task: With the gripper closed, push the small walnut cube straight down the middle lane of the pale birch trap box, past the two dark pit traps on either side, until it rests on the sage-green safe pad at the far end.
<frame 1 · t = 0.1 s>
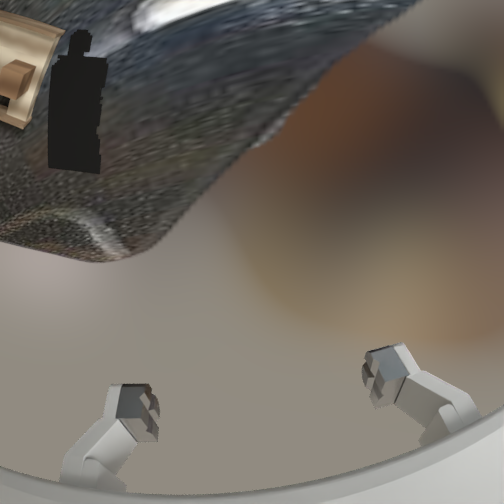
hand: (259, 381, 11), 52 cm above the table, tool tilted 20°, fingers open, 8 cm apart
block: (21, 74, 37), point 2 cm above the table, touching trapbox
black flat board: (77, 104, 48), on the table
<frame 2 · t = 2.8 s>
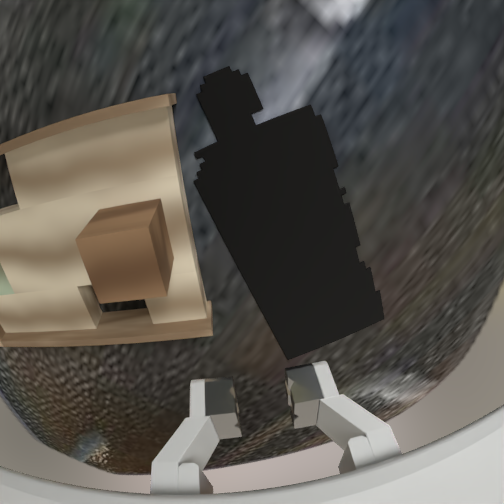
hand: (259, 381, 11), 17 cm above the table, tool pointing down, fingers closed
block: (136, 234, 23), point 2 cm above the table, touching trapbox
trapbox: (63, 235, 25), on the table
black flat board: (297, 229, 28), on the table
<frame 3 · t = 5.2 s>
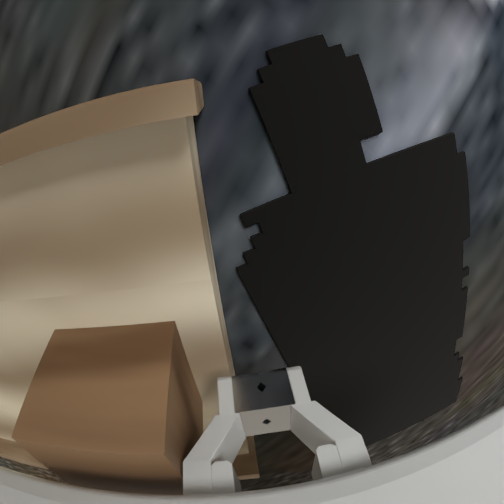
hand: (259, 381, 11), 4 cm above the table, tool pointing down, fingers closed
block: (131, 371, 12), point 2 cm above the table, touching gripper, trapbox
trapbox: (14, 335, 13), on the table
black flat board: (391, 326, 16), on the table
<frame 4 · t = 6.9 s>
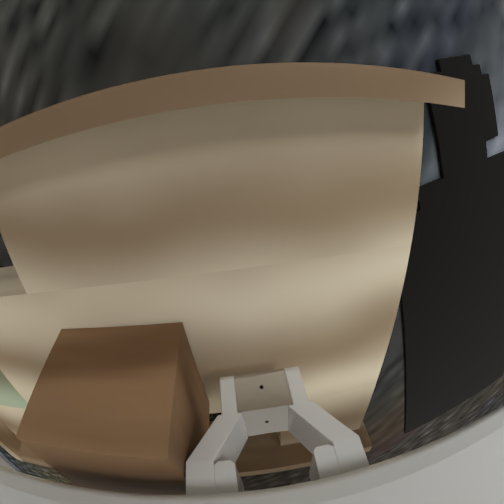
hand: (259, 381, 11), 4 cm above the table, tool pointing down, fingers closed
block: (138, 371, 12), point 3 cm above the table, touching gripper
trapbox: (118, 327, 14), on the table
black flat board: (475, 299, 17), on the table
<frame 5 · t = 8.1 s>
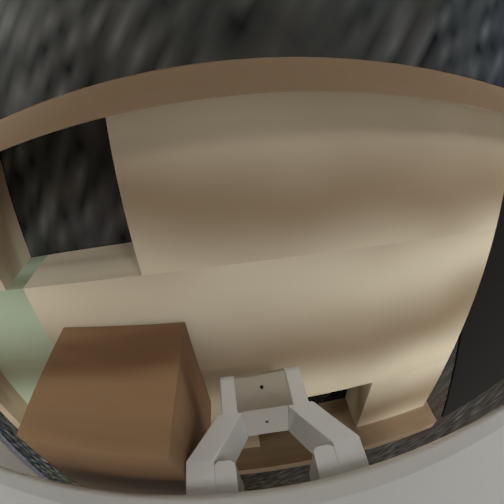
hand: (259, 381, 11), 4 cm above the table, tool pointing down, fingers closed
block: (140, 370, 12), point 3 cm above the table, touching gripper
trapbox: (218, 313, 14), on the table
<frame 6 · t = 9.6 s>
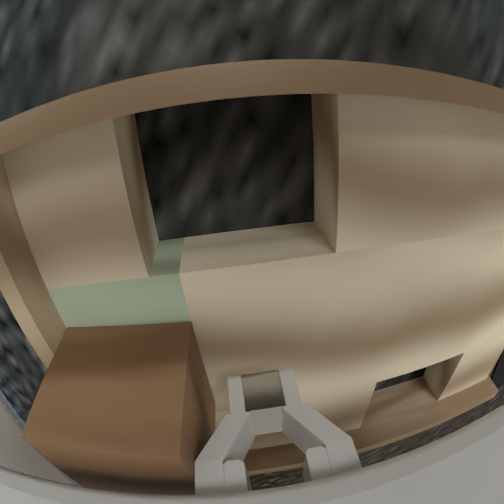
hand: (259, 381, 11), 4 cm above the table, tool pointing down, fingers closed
block: (144, 370, 12), point 3 cm above the table, touching gripper, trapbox
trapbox: (352, 295, 14), on the table
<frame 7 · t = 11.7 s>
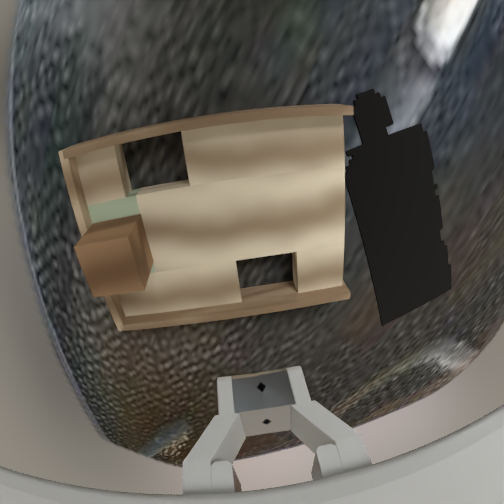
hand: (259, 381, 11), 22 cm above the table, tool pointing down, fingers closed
block: (123, 242, 29), point 2 cm above the table, touching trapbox
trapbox: (218, 214, 31), on the table
black flat board: (404, 214, 34), on the table
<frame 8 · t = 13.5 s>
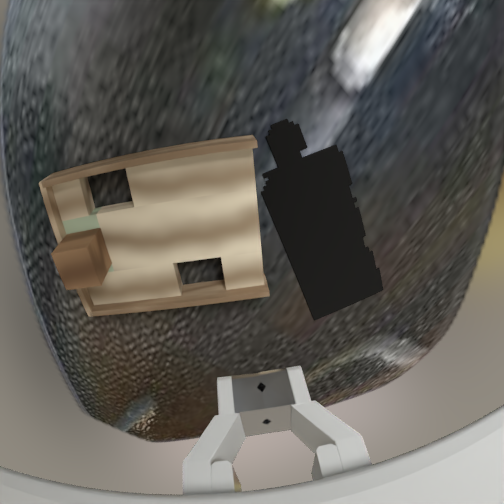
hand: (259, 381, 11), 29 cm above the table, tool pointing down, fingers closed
block: (89, 248, 36), point 2 cm above the table, touching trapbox
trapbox: (160, 226, 39), on the table
black flat board: (324, 224, 42), on the table
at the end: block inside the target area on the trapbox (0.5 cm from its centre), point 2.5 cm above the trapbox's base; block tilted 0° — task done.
